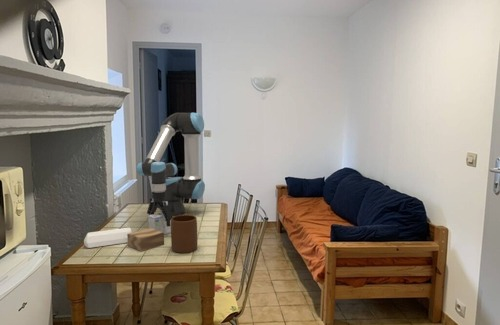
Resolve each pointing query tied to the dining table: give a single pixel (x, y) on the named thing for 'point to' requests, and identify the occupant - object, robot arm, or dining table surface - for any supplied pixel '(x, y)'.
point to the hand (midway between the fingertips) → (160, 229)
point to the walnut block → (145, 239)
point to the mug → (184, 233)
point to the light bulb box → (158, 222)
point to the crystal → (106, 237)
